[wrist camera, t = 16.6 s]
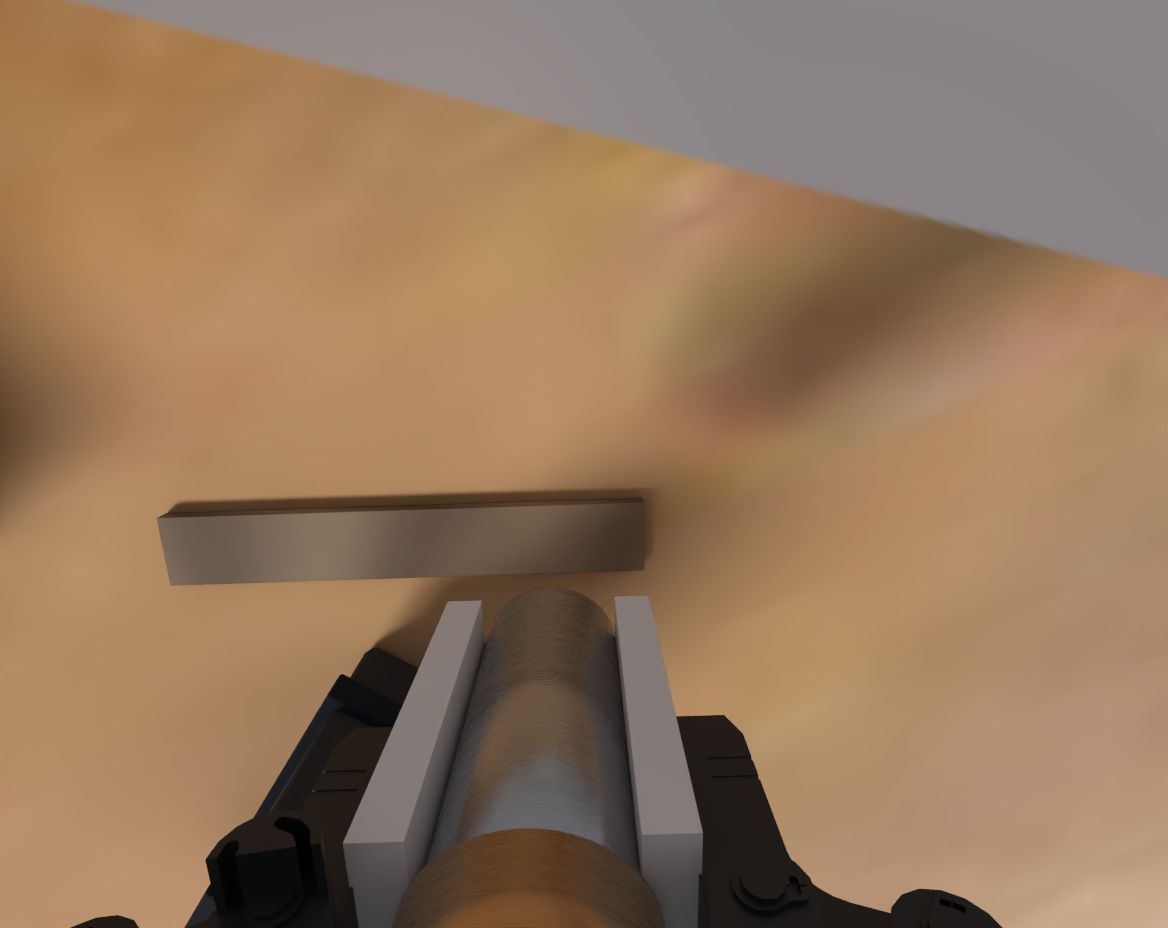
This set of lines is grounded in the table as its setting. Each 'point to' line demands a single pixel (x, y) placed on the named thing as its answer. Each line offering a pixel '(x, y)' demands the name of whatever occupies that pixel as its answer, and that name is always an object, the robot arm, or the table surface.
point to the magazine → (333, 735)
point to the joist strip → (403, 541)
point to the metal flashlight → (538, 785)
